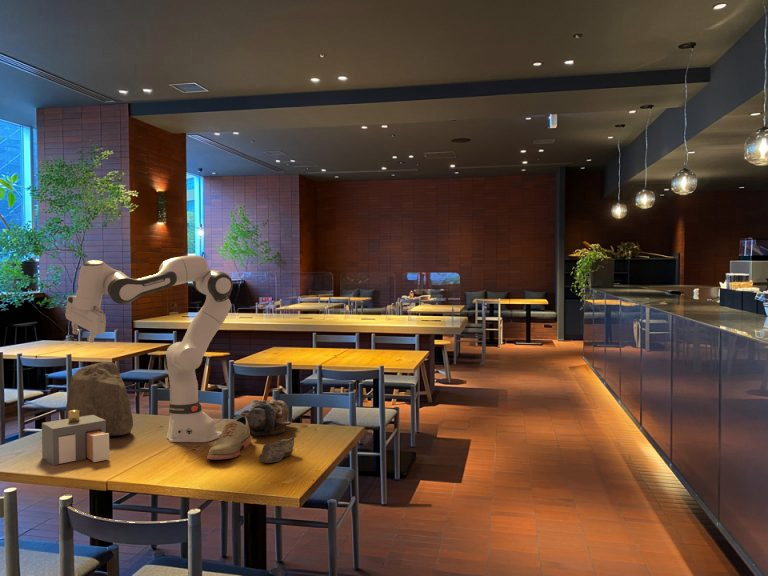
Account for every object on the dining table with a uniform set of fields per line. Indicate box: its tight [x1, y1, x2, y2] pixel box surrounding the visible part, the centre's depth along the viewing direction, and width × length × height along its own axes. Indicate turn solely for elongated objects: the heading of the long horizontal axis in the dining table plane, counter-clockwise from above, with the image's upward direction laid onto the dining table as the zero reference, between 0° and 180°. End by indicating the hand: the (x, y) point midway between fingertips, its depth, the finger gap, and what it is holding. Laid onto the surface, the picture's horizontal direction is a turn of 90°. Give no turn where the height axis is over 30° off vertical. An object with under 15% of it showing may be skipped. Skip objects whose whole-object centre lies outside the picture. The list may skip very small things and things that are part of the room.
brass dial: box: [68, 410, 79, 423], centre depth 222 cm, size 4×4×4 cm
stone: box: [64, 361, 134, 437], centre depth 260 cm, size 25×34×30 cm
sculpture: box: [239, 398, 292, 438], centre depth 255 cm, size 25×21×14 cm
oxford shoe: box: [206, 416, 252, 461], centre depth 226 cm, size 11×32×12 cm, turn 178°
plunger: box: [85, 430, 110, 463], centre depth 220 cm, size 12×5×9 cm, turn 45°
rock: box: [258, 437, 295, 464], centre depth 218 cm, size 17×7×10 cm
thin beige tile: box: [58, 434, 77, 465], centre depth 218 cm, size 12×5×9 cm, turn 45°
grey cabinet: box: [41, 415, 106, 466], centre depth 222 cm, size 13×18×13 cm
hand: (82, 337), depth 226 cm, fingers open, 8 cm apart
